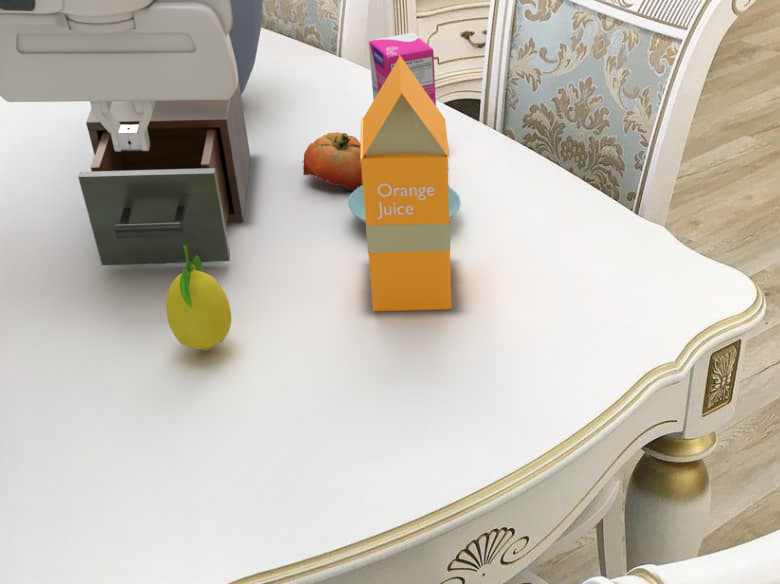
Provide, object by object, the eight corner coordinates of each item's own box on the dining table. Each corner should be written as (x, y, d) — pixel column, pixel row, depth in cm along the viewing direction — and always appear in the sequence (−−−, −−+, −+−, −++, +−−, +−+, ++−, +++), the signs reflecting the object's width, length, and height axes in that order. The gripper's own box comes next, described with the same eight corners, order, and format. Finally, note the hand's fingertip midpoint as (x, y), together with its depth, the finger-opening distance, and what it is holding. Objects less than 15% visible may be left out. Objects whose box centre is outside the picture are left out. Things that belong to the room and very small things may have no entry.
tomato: (329, 189, 120) (307, 122, 119) (304, 214, 125) (282, 149, 125) (391, 181, 124) (370, 116, 123) (363, 206, 130) (343, 144, 129)
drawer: (226, 286, 107) (210, 196, 100) (94, 291, 105) (69, 201, 99) (238, 195, 120) (224, 112, 113) (121, 199, 119) (100, 114, 112)
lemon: (206, 378, 97) (184, 272, 90) (157, 358, 99) (131, 253, 92) (256, 343, 101) (239, 240, 94) (208, 325, 103) (187, 222, 96)
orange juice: (371, 311, 106) (353, 92, 91) (371, 266, 112) (354, 53, 97) (453, 309, 106) (448, 91, 92) (449, 264, 112) (444, 52, 98)
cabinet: (243, 221, 118) (226, 119, 110) (112, 225, 116) (86, 122, 109) (250, 159, 128) (236, 61, 121) (130, 162, 127) (108, 64, 119)
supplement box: (374, 142, 132) (367, 38, 124) (419, 133, 134) (415, 31, 126) (393, 161, 129) (387, 55, 120) (439, 151, 131) (436, 47, 122)
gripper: (229, -36, 92) (252, 133, 102) (-26, -37, 90) (23, 135, 100) (224, -12, 88) (248, 162, 98) (-44, -12, 86) (9, 165, 96)
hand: (132, 148), depth 99 cm, fingers closed
